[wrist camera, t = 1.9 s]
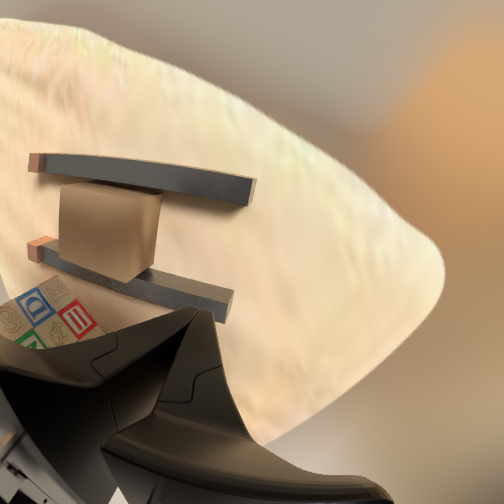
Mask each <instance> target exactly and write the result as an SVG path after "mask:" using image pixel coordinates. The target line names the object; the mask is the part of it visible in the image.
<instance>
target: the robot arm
mask: <svg viewBox="0 0 504 504" xmlns="http://www.w3.org/2000/svg"><path fill="white" fill-rule="evenodd" d="M117 487H119V489H120V490H121V492H122V494H123V495H124V497H125V499H126V500H127V502H128V504H394V502H393V499H392V498H391V496H390V495H389V494H388V493H387V491H386V490H384V489H383V488H382V487H381V486H379V485H378V484H376V483H374V482H372V481H371V480H369V479H367V478H365V477H361V476H354V475H322V474H317V473H312V472H308V471H305V470H302V469H300V468H298V467H296V466H294V465H292V464H290V463H289V462H287V461H285V460H283V459H282V458H280V457H278V456H277V455H275V454H273V453H272V452H270V451H268V450H266V449H265V448H263V447H262V446H260V445H259V444H257V443H256V442H255V441H254V440H253V438H252V437H251V435H250V434H249V432H248V430H247V428H246V426H245V424H244V422H243V420H242V418H241V416H240V413H239V411H238V409H237V407H236V405H235V402H234V400H233V398H232V395H231V393H230V390H229V387H228V384H227V380H226V377H225V372H224V368H223V363H222V358H221V353H220V348H219V342H218V337H217V332H216V326H215V321H214V315H213V312H211V311H207V310H204V309H202V310H200V309H199V308H196V307H193V306H187V307H185V308H182V309H179V310H176V311H173V312H171V313H168V314H165V315H162V316H159V317H156V318H153V319H151V320H148V321H145V322H142V323H139V324H136V325H133V326H130V327H127V328H124V329H121V330H118V331H117V332H112V333H109V334H106V335H103V336H99V337H96V338H92V339H88V340H84V341H80V342H75V343H71V344H66V345H61V346H56V347H51V348H45V349H33V348H28V347H25V346H23V345H20V344H18V343H16V342H14V341H12V340H10V339H8V338H6V337H4V336H2V335H0V504H108V503H109V501H110V500H111V498H112V496H113V494H114V492H115V491H116V489H117Z"/></svg>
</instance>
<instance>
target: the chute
mask: <svg viewBox="0 0 504 504" xmlns="http://www.w3.org/2000/svg"><path fill="white" fill-rule="evenodd" d="M28 172H35V173H40V172H44V173H53V174H61V175H69V176H77V177H85V178H92V179H99V180H106V181H113V182H120V183H126V184H132V185H139V186H145V187H151V188H157V189H162V190H168V191H174V192H179V193H185V194H190V195H195V196H200V197H206V198H211V199H216V200H221V201H226V202H230V203H235V204H240V205H245V206H248V205H249V204H251V203H252V200H253V195H254V190H255V185H256V180H257V178H252V177H247V176H242V175H237V174H231V173H226V172H220V171H215V170H209V169H203V168H197V167H191V166H184V165H177V164H171V163H163V162H156V161H148V160H139V159H130V158H121V157H110V156H99V155H85V154H69V153H30V156H29V165H28ZM27 249H28V259H29V260H31V261H33V262H35V263H37V264H38V263H40V262H43V263H45V264H48V265H50V266H52V267H55V268H57V269H60V270H62V271H64V272H67V273H69V274H72V275H74V276H77V277H79V278H82V279H85V280H87V281H90V282H93V283H95V284H98V285H101V286H103V287H106V288H109V289H112V290H114V291H117V292H120V293H123V294H126V295H129V296H132V297H135V298H138V299H141V300H144V301H147V302H150V303H153V304H156V305H160V306H163V307H166V308H169V309H173V310H179V309H182V308H185V307H187V306H193V307H196V308H199V309H200V310H202V309H204V310H207V311H211V312H213V315H214V321H215V322H219V323H223V324H225V322H226V319H227V317H228V314H229V312H230V309H231V304H232V299H233V294H234V290H230V289H226V288H222V287H218V286H214V285H210V284H206V283H202V282H199V281H195V280H191V279H187V278H183V277H180V276H176V275H172V274H169V273H165V272H161V271H158V270H154V269H151V268H146V269H145V270H144V271H142V272H141V273H140V274H138V275H137V276H136V277H134V278H133V279H131V280H130V281H129V282H127V283H124V282H121V281H118V280H116V279H113V278H110V277H107V276H105V275H102V274H99V273H97V272H94V271H91V270H89V269H86V268H84V267H81V266H79V265H76V264H74V263H71V262H69V261H66V260H64V259H61V258H59V240H56V239H53V238H51V237H48V236H44V237H41V238H39V239H36V240H33V241H31V242H28V243H27Z"/></svg>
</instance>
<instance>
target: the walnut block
mask: <svg viewBox="0 0 504 504" xmlns="http://www.w3.org/2000/svg"><path fill="white" fill-rule="evenodd" d="M162 195H163V194H161V193H157V192H152V191H147V190H142V189H137V188H131V187H126V186H121V185H116V184H110V183H105V182H99V181H89V182H81V183H73V184H65V185H61V192H60V207H59V258H61V259H64V260H66V261H69V262H71V263H74V264H76V265H79V266H81V267H84V268H86V269H89V270H91V271H94V272H97V273H99V274H102V275H105V276H107V277H110V278H113V279H116V280H118V281H121V282H124V283H127V282H129V281H130V280H131V279H133V278H134V277H136V276H137V275H138V274H140V273H141V272H142V271H144V270H145V269H146V268H148V267H149V266H151V265H152V264H153V263H154V254H155V245H156V237H157V229H158V221H159V214H160V208H161V201H162Z"/></svg>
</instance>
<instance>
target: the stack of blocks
mask: <svg viewBox="0 0 504 504" xmlns="http://www.w3.org/2000/svg"><path fill="white" fill-rule="evenodd" d="M0 335H2V336H4V337H6V338H8V339H10V340H12V341H14V342H16V343H18V344H20V345H23V346H25V347H28V348H33V349H45V348H51V347H56V346H61V345H66V344H71V343H75V342H80V341H84V340H88V339H92V338H96V337H99V336H103V335H106V334H105V333H104V332H103V330H102V329H101V328H100V327H99V326H98V325H97V323H96V322H95V321H94V320H93V319H92V317H91V316H90V315H89V314H88V313H87V312H86V310H85V309H84V308H83V307H82V306H81V304H80V303H79V302H78V301H77V300H76V298H75V297H74V295H73V294H72V293H71V292H70V290H69V289H68V288H67V286H66V285H65V284H64V282H63V281H62V280H61V278H60V277H59V276H58V275H57V276H55V277H53V278H51V279H49V280H47V281H45V282H44V283H42V284H40V285H38V286H37V287H35V288H33V289H31V290H29V291H28V292H26V293H24V294H22V295H20V296H18V297H17V298H15V299H14V300H10V301H8V302H7V303H5V304H3V305H2V306H0Z"/></svg>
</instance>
